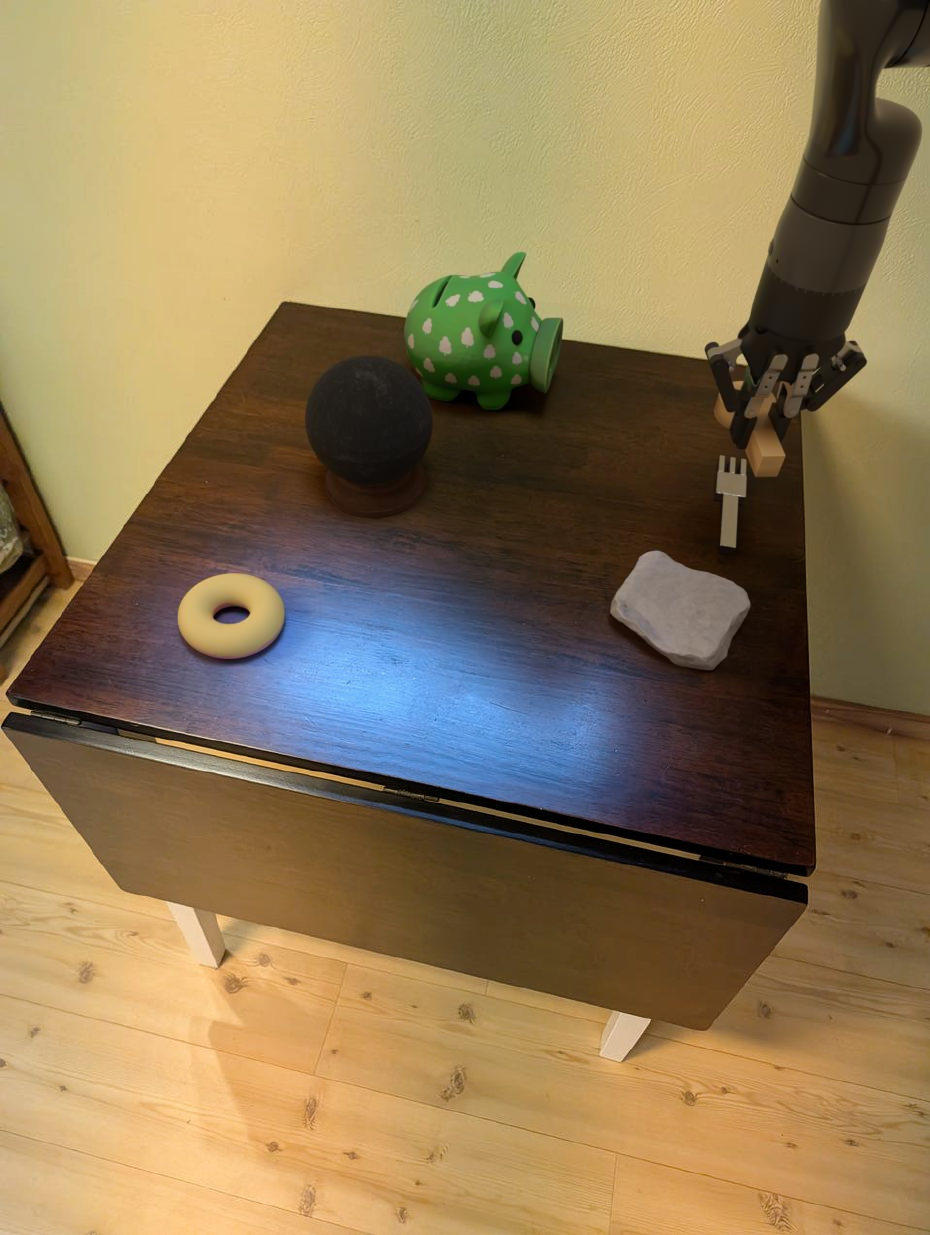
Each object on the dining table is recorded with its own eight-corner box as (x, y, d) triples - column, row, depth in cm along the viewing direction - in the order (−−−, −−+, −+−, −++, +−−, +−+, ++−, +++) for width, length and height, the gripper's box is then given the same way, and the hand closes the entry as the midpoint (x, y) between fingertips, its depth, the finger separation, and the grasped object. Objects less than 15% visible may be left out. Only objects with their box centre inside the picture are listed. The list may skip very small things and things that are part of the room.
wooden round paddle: (795, 476, 74) (804, 455, 72) (736, 477, 74) (744, 456, 72) (761, 397, 81) (769, 376, 79) (708, 398, 80) (714, 377, 79)
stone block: (709, 692, 79) (752, 610, 82) (715, 669, 75) (760, 584, 78) (595, 639, 83) (640, 564, 87) (595, 615, 79) (643, 537, 83)
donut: (253, 687, 79) (305, 610, 83) (246, 667, 75) (301, 587, 79) (162, 641, 80) (218, 567, 85) (151, 619, 76) (210, 543, 80)
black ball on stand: (430, 526, 90) (426, 411, 78) (307, 522, 90) (285, 406, 78) (438, 446, 98) (435, 331, 86) (325, 442, 98) (307, 327, 87)
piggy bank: (538, 435, 99) (549, 321, 88) (392, 409, 102) (384, 295, 91) (561, 367, 108) (574, 254, 96) (425, 344, 111) (422, 232, 99)
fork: (740, 557, 87) (743, 549, 86) (709, 551, 88) (712, 543, 87) (744, 467, 96) (747, 459, 95) (716, 462, 97) (718, 454, 96)
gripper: (740, 289, 60) (686, 472, 74) (928, 288, 61) (840, 470, 74) (716, 237, 65) (669, 418, 79) (891, 235, 65) (815, 416, 79)
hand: (753, 442), depth 76 cm, fingers closed on wooden round paddle, 2 cm apart
